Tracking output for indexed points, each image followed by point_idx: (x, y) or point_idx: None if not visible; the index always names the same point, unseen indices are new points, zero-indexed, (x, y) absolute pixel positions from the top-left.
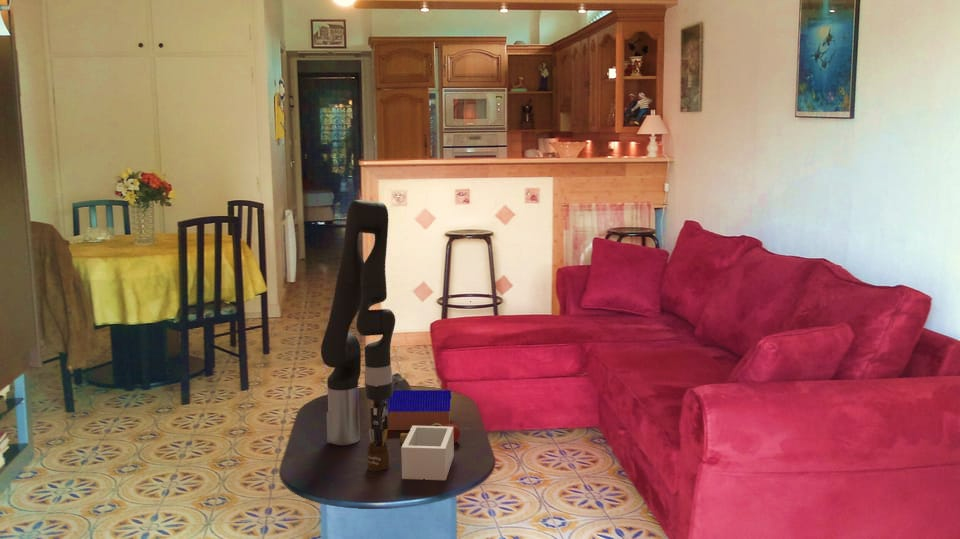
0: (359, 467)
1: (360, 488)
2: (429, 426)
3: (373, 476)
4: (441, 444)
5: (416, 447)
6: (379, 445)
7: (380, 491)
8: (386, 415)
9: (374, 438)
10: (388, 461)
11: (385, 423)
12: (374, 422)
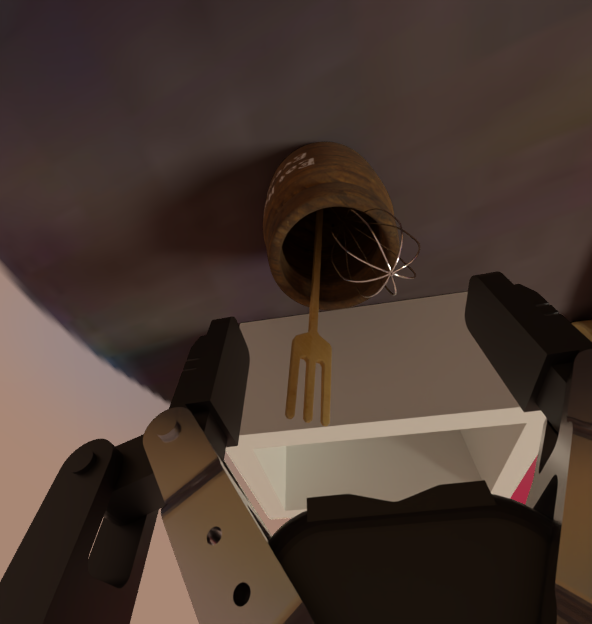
0: (299, 81)
1: (72, 211)
2: (530, 455)
3: (216, 215)
4: (304, 509)
5: (243, 472)
6: (382, 236)
7: (105, 294)
8: (538, 454)
9: (206, 338)
10: (327, 261)
11: (500, 361)
12: (168, 491)
